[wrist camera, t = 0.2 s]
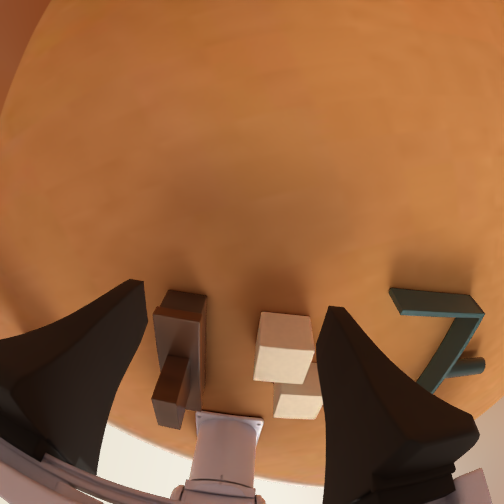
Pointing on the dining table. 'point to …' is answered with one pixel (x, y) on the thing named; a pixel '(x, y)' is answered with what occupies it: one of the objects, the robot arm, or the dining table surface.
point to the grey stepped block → (179, 356)
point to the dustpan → (456, 338)
